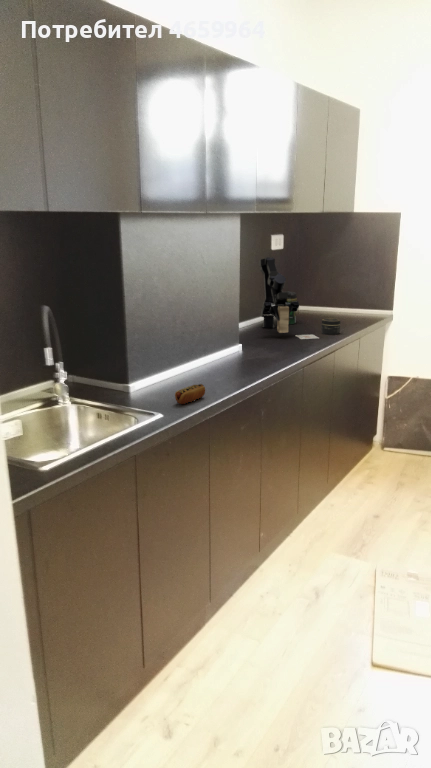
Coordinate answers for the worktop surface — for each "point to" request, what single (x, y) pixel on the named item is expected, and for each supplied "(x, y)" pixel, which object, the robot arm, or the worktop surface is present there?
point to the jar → (330, 326)
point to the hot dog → (190, 393)
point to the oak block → (283, 319)
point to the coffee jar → (293, 315)
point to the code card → (306, 336)
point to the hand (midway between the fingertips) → (283, 320)
